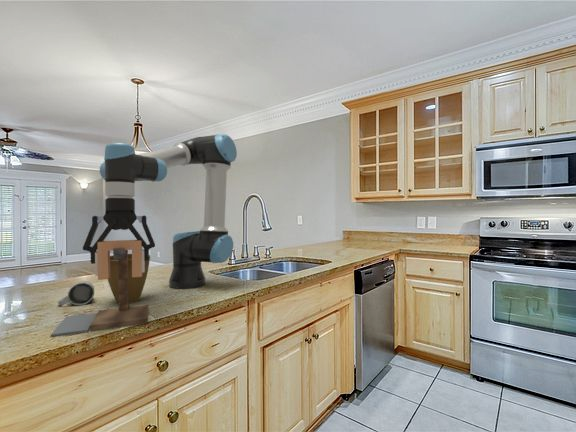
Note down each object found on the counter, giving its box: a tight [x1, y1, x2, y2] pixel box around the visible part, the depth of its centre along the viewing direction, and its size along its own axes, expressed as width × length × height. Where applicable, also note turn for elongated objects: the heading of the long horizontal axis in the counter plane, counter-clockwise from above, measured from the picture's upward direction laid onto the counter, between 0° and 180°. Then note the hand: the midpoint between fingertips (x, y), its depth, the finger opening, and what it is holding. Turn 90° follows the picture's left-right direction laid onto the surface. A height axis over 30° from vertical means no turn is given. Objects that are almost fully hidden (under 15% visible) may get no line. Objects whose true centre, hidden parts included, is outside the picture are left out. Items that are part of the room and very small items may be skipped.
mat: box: [50, 312, 98, 338], centre depth 87 cm, size 8×15×1 cm, turn 23°
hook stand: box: [89, 248, 149, 332], centre depth 91 cm, size 14×15×22 cm
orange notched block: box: [97, 239, 143, 281], centre depth 90 cm, size 11×4×10 cm, turn 113°
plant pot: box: [107, 253, 151, 304], centre depth 111 cm, size 15×15×16 cm
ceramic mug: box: [57, 280, 95, 307], centre depth 109 cm, size 11×8×8 cm
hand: (121, 273), depth 90 cm, fingers closed on orange notched block, 11 cm apart
